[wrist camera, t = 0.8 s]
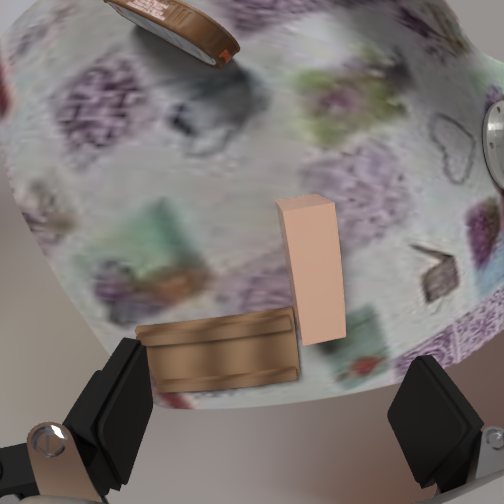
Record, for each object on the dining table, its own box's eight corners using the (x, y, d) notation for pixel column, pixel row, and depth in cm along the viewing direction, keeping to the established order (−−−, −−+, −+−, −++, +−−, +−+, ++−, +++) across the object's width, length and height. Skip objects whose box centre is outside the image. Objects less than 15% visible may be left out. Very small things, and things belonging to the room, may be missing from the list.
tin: (243, 60, 25) (241, 24, 16) (223, 83, 25) (212, 53, 17) (138, 2, 22) (110, -33, 14) (120, 22, 23) (86, -9, 14)
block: (315, 193, 28) (334, 202, 22) (328, 302, 32) (346, 336, 25) (275, 200, 29) (282, 211, 22) (293, 309, 32) (302, 345, 25)
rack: (291, 306, 32) (294, 316, 30) (299, 369, 34) (301, 380, 32) (137, 326, 33) (131, 335, 30) (160, 383, 35) (156, 394, 33)
